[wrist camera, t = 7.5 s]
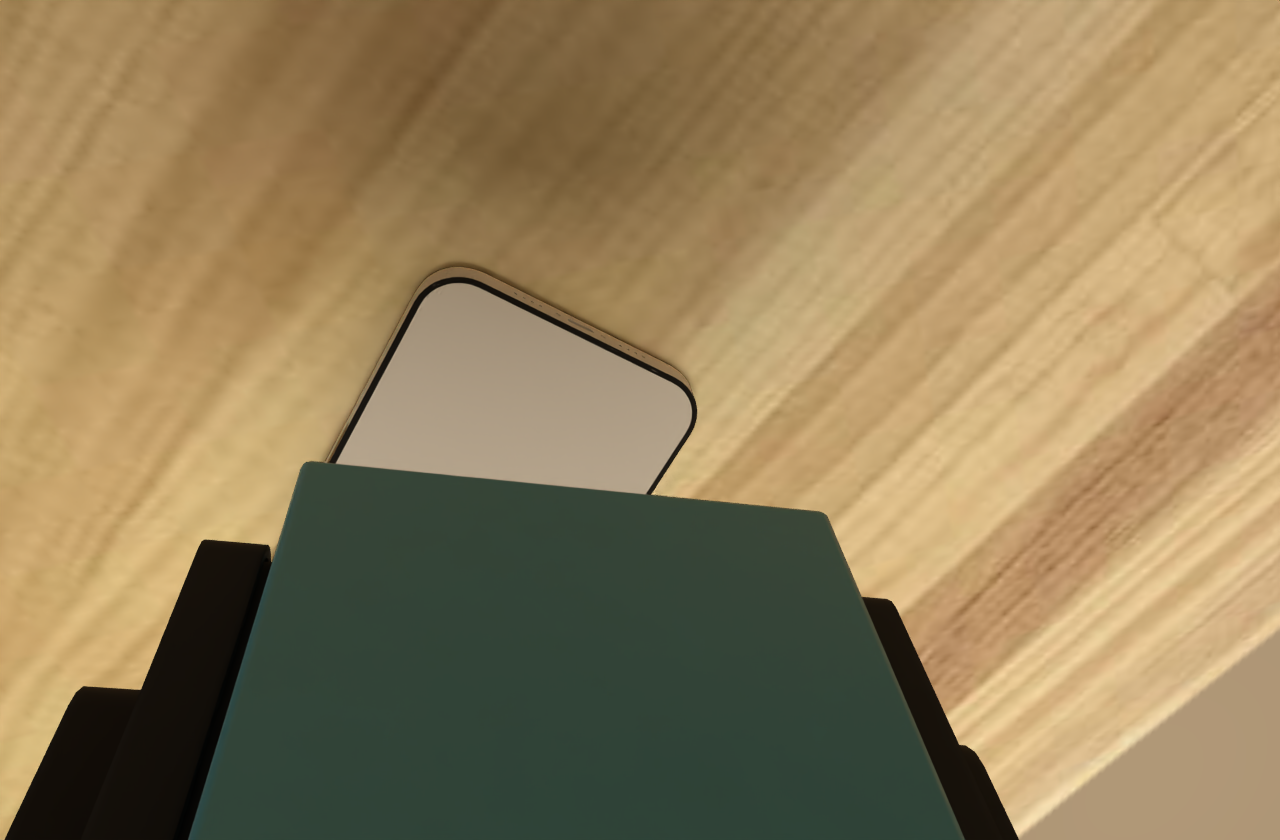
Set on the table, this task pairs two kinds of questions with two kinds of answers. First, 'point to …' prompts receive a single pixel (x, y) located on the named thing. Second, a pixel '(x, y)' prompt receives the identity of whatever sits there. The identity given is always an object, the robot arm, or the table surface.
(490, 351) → the smartphone
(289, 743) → the block
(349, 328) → the table surface
